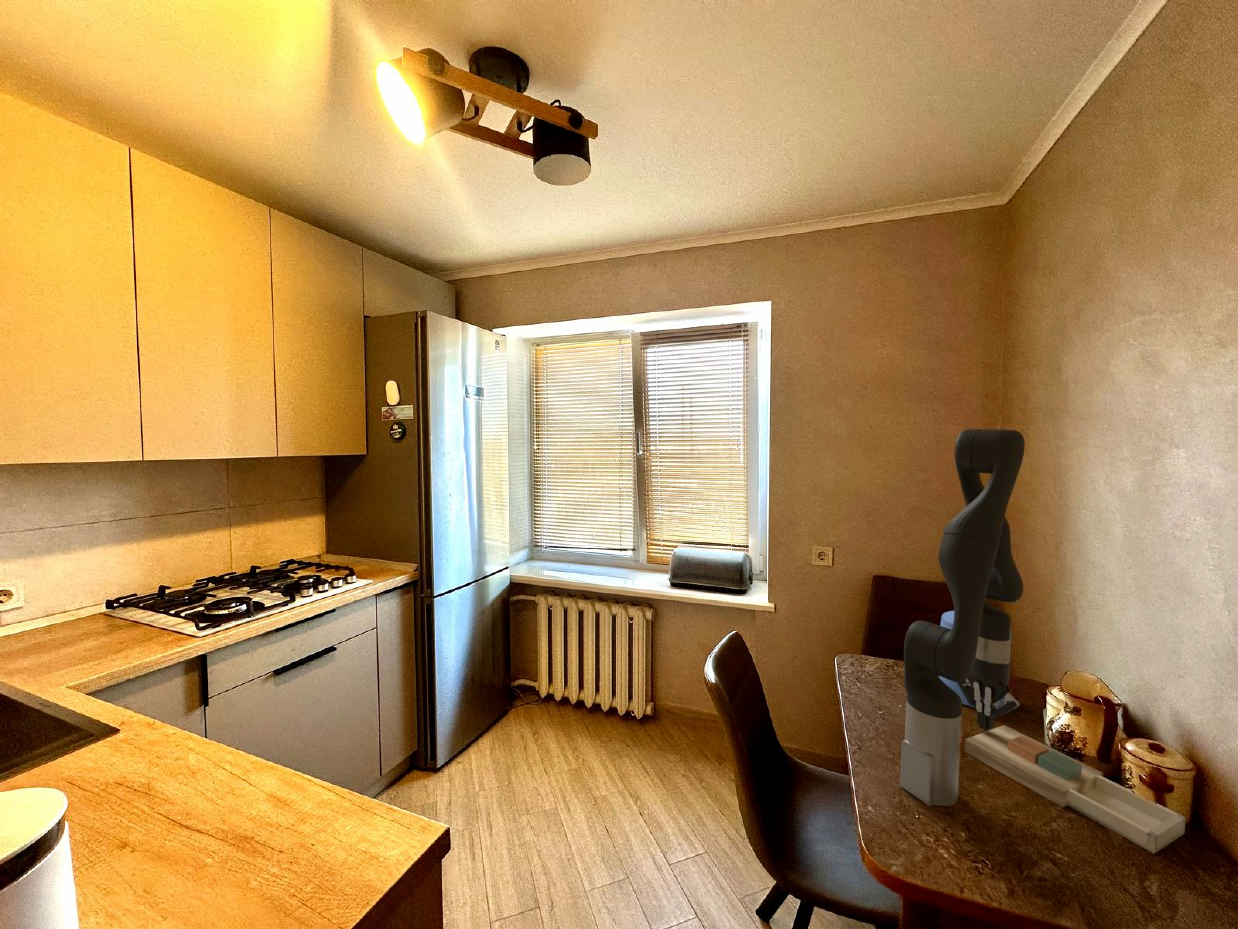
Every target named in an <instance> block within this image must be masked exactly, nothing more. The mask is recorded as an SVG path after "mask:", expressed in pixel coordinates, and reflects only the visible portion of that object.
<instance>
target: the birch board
mask: <svg viewBox="0 0 1238 929" xmlns="http://www.w3.org/2000/svg"><path fill="white" fill-rule="evenodd" d="M1020 736H1024V737H1026V738H1028V739H1030V740H1032V741H1035V742H1037V743H1039V744H1041V745H1043V746H1045V747H1047V748H1049V751H1051V750H1053V751H1055V752H1057V753H1059V754H1061V755H1063V756H1065V757H1067V758H1069V759H1071V760H1074V761H1076V762H1078V763H1080V764H1082V773H1081V775H1079V776H1077V777H1075V778H1073V779H1070V780H1068V781H1067V780H1065V779H1063V778H1061V777H1059V776H1057V775H1055V774H1053V773H1051V772H1049V771H1047V770H1046V769H1044V768H1042V767H1040V766H1038V763H1036V764H1034V763H1032V762H1030V761H1028V760H1026V759H1025V758H1023V757H1021V756H1019V755H1017V754H1015V753H1013V752H1011V751H1009V750H1008V741H1009V740H1012V739H1014V738H1017V737H1020ZM964 745H965V746H964V753H966V754H968V755H970V757H973V758H974V759H976V760H979V761H980V762H982V763H983V764H986V765H987V766H989V767H990V768H993V769H994V770H996V771H998V772H1000V773H1001V774H1003V775H1005V776H1007V777H1008V778H1010V779H1012V780H1014V781H1016V782H1017V783H1019V784H1021V785H1023V786H1025V787H1026V788H1028V789H1030V790H1032V792H1035V793H1036V794H1038V795H1040V796H1042V797H1044V798H1046V799H1047V800H1049V801H1050V802H1053V803H1054V804H1055V805H1058V806H1060V807H1061V808H1065V807H1067V806H1068V805H1067V802H1068V790H1070V789H1073V790H1075V791H1076V792H1078V793H1080V794H1082V795H1083V794H1085V793H1087V792H1089V791H1091V790H1093V789H1095V788H1096V776H1098V775H1100V776H1102V777H1104V772H1101V771H1099V770H1097V769H1095V768H1094V767H1092V766H1089V765H1088V764H1085V763H1083V762H1081V761H1079V760H1077V759H1075V758H1072V757H1070V756H1068V755H1066V754H1065V753H1064V752H1062V751H1059V750H1057V749H1054V748H1052V747H1051V746H1049V745H1046V744H1044V743H1042V742H1040V741H1038V740H1035V739H1034V738H1031V737H1030V736H1027V735H1026V734H1024V733H1021V732H1019V731H1018V730H1015V729H1013V728H1011V727H1009V726H1007V725H1005V724H1004V725H1000V726H997V727H995V728H992V729H991V730H988V731H984V732H981V733H978V734H976V735H973V736H970V737H967V738H965V743H964Z"/></svg>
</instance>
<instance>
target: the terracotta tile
mask: <svg viewBox="0 0 1238 929" xmlns="http://www.w3.org/2000/svg"><path fill="white" fill-rule="evenodd" d="M1008 750H1009V751H1011V752H1013V753H1015V754H1017V755H1019V756H1021V757H1023V758H1025V759H1026V760H1028V761H1030V762H1032V763H1034V764H1036V763H1038V756H1039V755H1042V754H1044V753H1046V752H1049V748H1047V747H1045V746H1043V745H1041V744H1039V743H1037V742H1035V741H1032V740H1030V739H1028V738H1026V737H1024V736H1020V737H1017V738H1014V739H1012V740H1009V741H1008Z"/></svg>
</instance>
